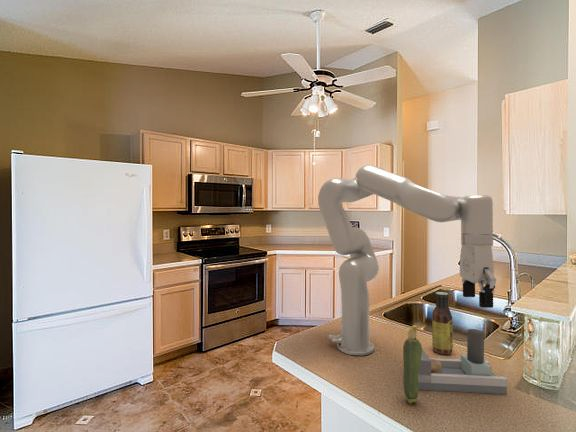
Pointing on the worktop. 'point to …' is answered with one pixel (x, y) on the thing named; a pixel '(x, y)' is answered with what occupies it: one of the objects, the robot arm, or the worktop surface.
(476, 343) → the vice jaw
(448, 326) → the sauce bottle
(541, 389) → the worktop surface
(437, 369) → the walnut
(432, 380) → the vice bench
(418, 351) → the vegetable
